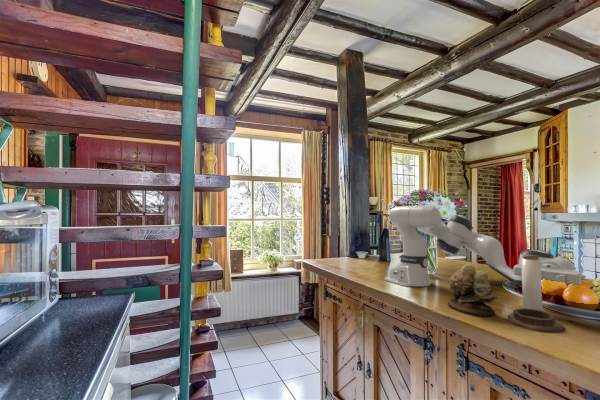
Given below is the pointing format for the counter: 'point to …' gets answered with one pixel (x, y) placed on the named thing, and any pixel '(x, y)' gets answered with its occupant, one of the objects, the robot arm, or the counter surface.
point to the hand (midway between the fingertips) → (538, 276)
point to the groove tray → (537, 328)
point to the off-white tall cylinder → (531, 282)
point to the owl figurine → (471, 292)
